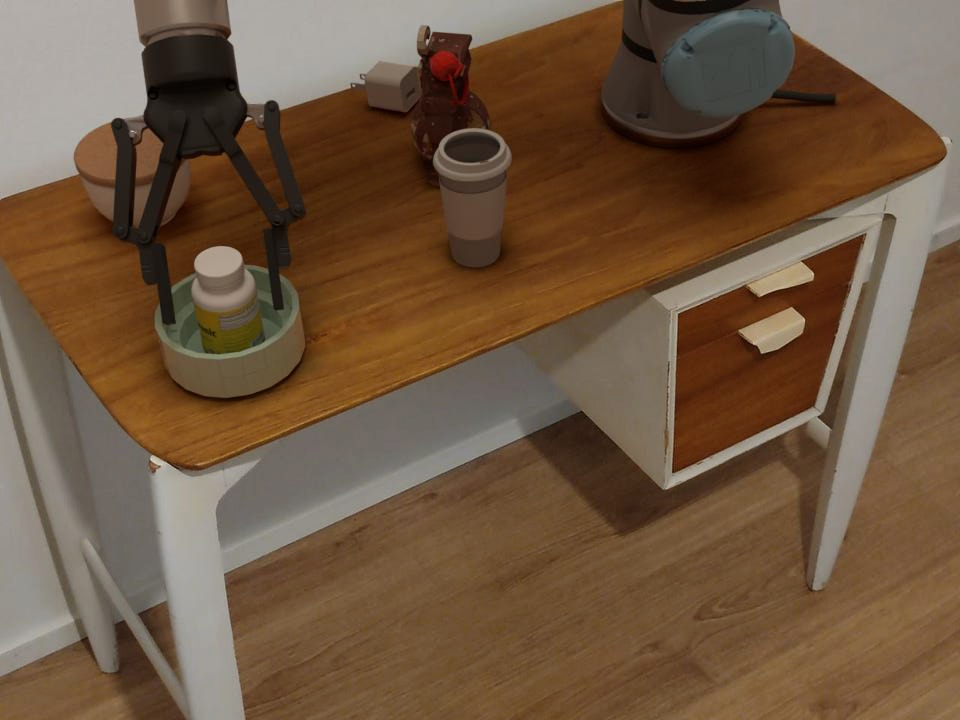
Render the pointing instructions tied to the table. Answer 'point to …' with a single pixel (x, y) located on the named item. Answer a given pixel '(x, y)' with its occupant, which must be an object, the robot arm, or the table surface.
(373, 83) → the usb wall charger
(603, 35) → the table surface
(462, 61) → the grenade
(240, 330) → the supplement bottle
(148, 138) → the trinket box
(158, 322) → the sage bowl
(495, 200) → the cup
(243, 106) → the robot arm
